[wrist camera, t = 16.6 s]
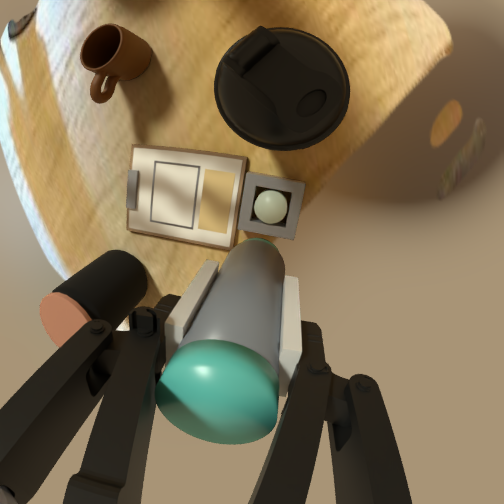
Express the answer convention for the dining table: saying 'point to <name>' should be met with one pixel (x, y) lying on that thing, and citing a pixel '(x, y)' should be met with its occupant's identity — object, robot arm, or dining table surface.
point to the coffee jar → (94, 295)
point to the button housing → (277, 183)
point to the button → (271, 206)
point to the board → (185, 194)
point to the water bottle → (282, 89)
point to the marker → (230, 352)
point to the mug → (113, 58)
